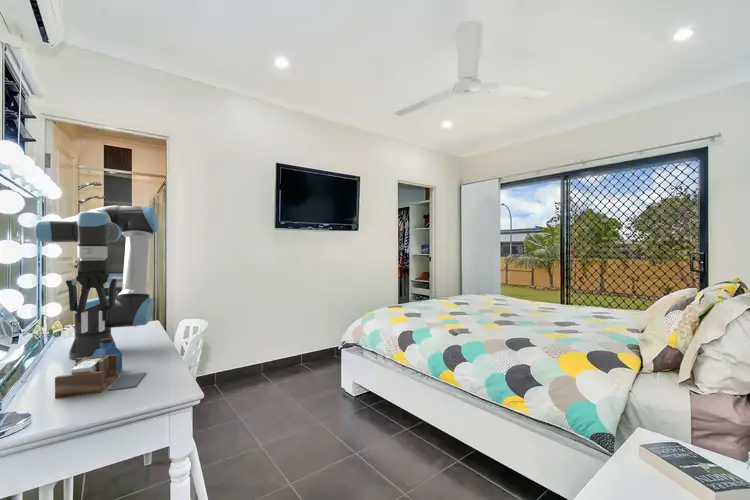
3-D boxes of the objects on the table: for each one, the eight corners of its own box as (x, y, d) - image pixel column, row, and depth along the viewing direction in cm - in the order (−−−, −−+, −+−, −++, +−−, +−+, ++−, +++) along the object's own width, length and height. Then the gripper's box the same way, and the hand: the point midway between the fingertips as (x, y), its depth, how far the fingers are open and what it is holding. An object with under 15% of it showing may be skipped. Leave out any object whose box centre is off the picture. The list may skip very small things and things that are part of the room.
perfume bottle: (105, 377, 116) (104, 341, 116) (90, 375, 117) (90, 340, 117) (122, 370, 122) (121, 337, 122) (107, 369, 123) (107, 336, 123)
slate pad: (122, 376, 116) (122, 375, 116) (146, 373, 119) (146, 372, 119) (108, 390, 104) (108, 389, 104) (135, 387, 107) (135, 386, 107)
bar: (85, 370, 111) (85, 359, 111) (103, 368, 113) (102, 357, 113) (71, 381, 102) (71, 369, 102) (90, 378, 103) (90, 367, 103)
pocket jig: (77, 380, 112) (77, 358, 112) (117, 376, 116) (117, 354, 116) (55, 398, 99) (54, 372, 99) (101, 392, 103) (101, 367, 103)
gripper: (53, 260, 105) (54, 336, 105) (120, 259, 111) (120, 331, 111) (65, 259, 112) (65, 331, 112) (127, 259, 118) (127, 326, 118)
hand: (93, 331), depth 111 cm, fingers open, 4 cm apart
